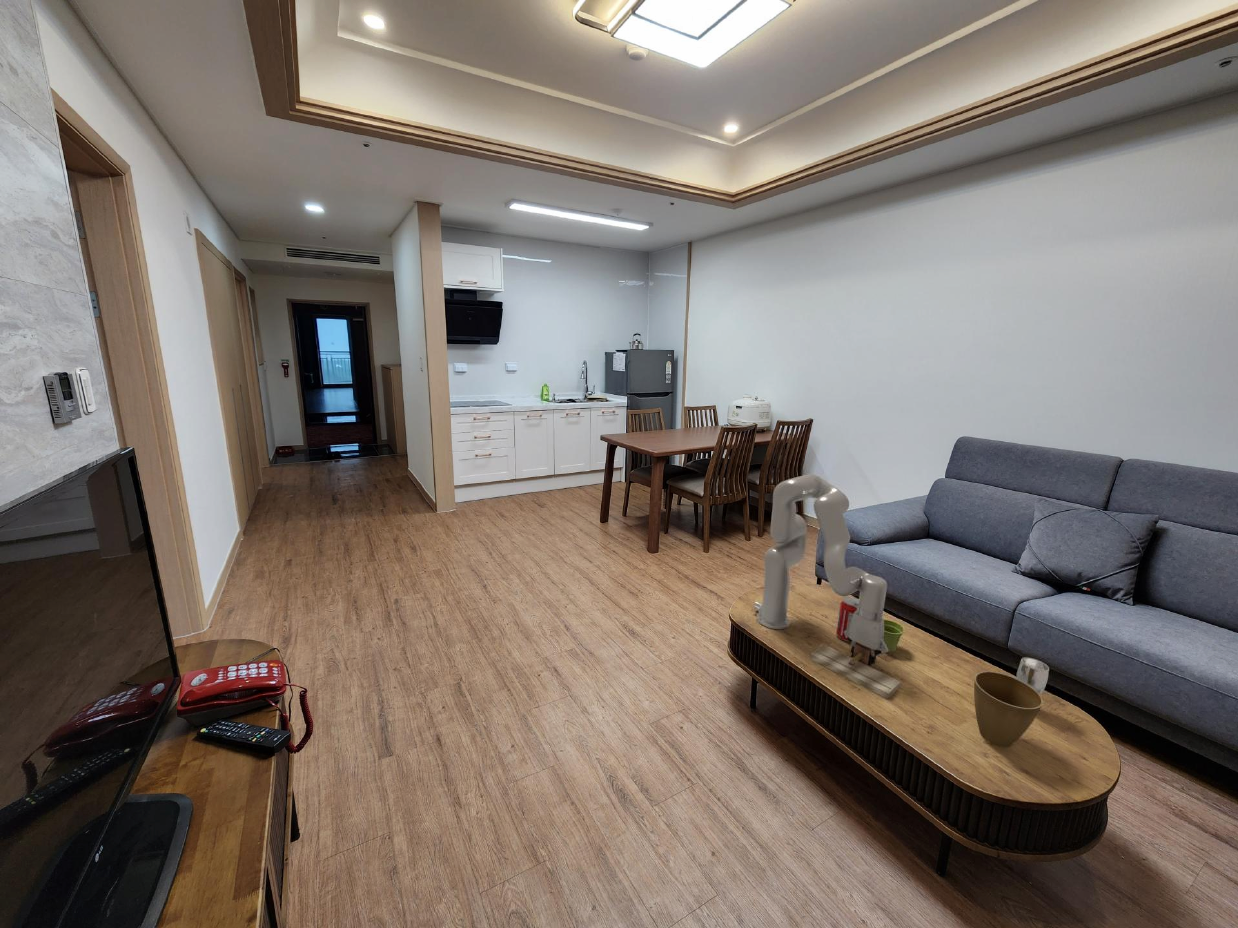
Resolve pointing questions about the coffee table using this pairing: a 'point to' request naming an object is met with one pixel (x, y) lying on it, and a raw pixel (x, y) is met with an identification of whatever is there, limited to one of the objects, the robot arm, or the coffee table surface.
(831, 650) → the board
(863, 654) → the cube with stick handle
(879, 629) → the robot arm
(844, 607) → the soda can
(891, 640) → the plant pot
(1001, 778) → the coffee table surface
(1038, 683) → the beer glass
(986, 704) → the plant pot
